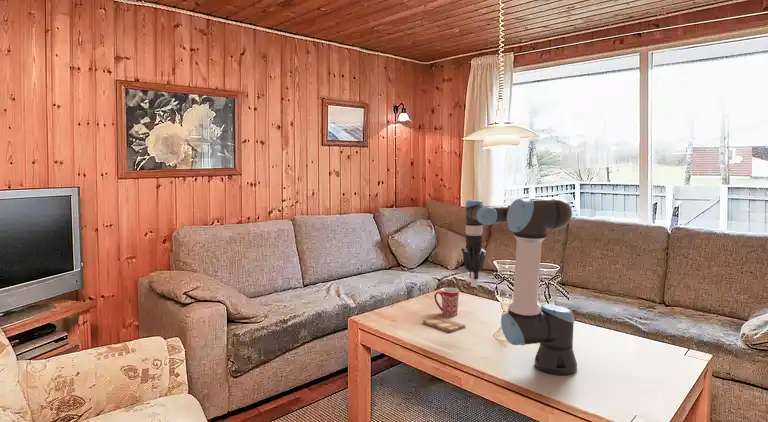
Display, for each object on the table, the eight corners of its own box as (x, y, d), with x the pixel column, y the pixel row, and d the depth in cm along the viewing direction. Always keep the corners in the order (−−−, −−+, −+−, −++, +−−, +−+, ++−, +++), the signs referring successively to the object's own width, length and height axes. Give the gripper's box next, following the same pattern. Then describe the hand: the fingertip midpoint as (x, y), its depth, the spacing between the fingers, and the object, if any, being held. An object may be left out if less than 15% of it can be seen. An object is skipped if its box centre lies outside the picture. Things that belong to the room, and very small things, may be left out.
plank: (459, 329, 227) (459, 326, 227) (450, 331, 223) (450, 329, 223) (432, 320, 240) (432, 318, 240) (423, 322, 236) (423, 320, 236)
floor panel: (466, 329, 229) (466, 325, 229) (450, 335, 222) (450, 330, 222) (437, 320, 243) (437, 315, 243) (421, 325, 236) (421, 320, 236)
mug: (461, 314, 251) (461, 288, 250) (455, 320, 243) (455, 293, 242) (437, 311, 257) (438, 286, 256) (431, 316, 249) (431, 290, 247)
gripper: (491, 234, 222) (490, 287, 224) (467, 232, 231) (467, 282, 234) (480, 236, 217) (480, 289, 219) (457, 233, 226) (457, 284, 229)
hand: (473, 285), depth 226 cm, fingers closed
